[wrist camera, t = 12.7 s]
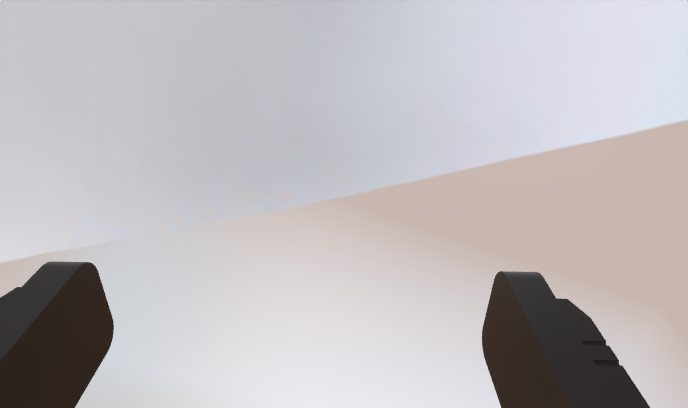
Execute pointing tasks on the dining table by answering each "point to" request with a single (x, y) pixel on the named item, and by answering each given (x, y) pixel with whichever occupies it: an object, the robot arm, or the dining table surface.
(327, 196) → the dining table surface
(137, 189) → the dining table surface
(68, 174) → the dining table surface
